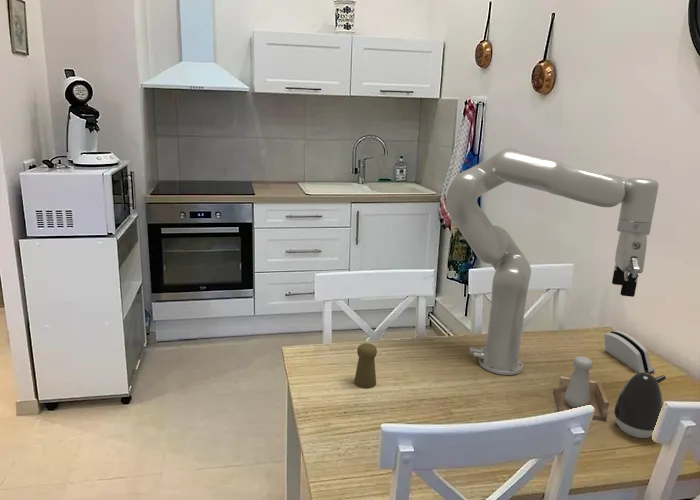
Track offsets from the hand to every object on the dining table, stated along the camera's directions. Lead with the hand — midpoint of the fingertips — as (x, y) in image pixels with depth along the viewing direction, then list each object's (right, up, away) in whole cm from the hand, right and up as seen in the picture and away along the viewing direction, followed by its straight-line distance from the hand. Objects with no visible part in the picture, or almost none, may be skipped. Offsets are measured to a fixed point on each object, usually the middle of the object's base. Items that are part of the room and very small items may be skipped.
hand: (622, 290), depth 143 cm
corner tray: (-13, -30, -4) cm, 33 cm away
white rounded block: (+13, -24, +24) cm, 36 cm away
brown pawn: (-68, -25, +3) cm, 73 cm away
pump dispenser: (-4, -33, -14) cm, 36 cm away
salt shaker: (-15, -29, -5) cm, 33 cm away
